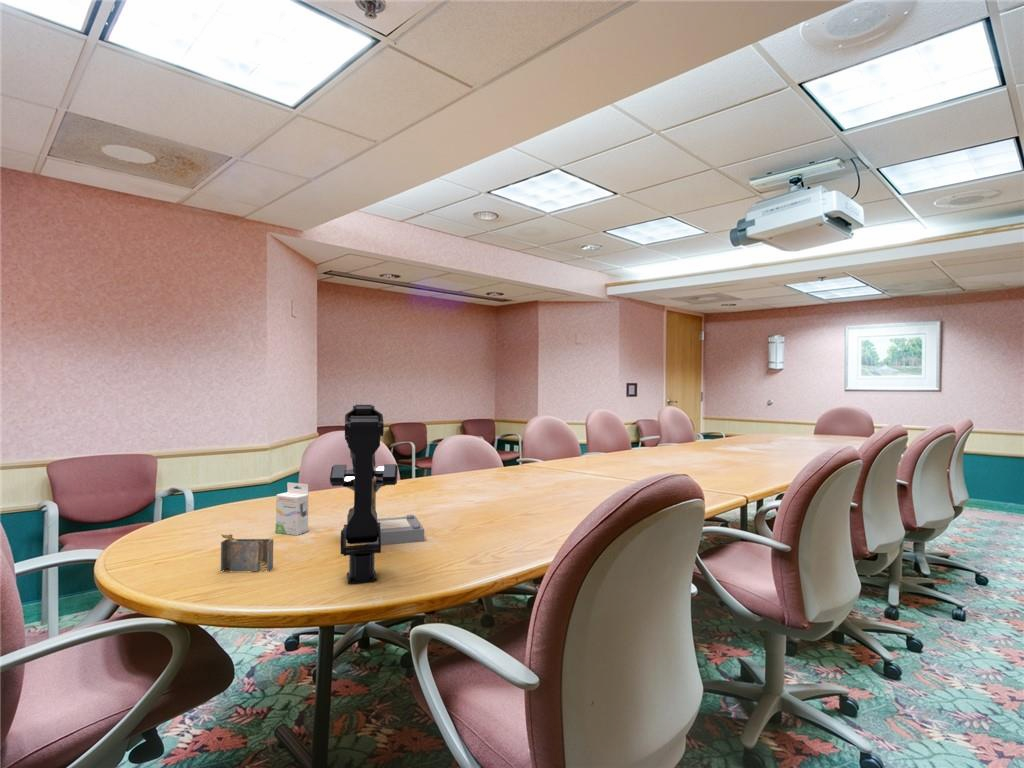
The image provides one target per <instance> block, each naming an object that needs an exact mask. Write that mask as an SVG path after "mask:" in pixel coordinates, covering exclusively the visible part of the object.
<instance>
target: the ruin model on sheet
mask: <svg viewBox="0 0 1024 768" xmlns="http://www.w3.org/2000/svg"><path fill="white" fill-rule="evenodd" d="M221 537H222V538H223V539H224V540H223V541H221V542H220V572H221V571H223V570H224V571H226V570H227V569H226V568H230V569H229V572H230V571H258V572H257V573H260V572H259V571H266V570H267V571H269V572H270V571H271V570H273V569H272V568H274V538H233V534H231V533H228V534H221ZM225 569H226V570H225ZM224 571H223V572H224Z"/></svg>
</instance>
